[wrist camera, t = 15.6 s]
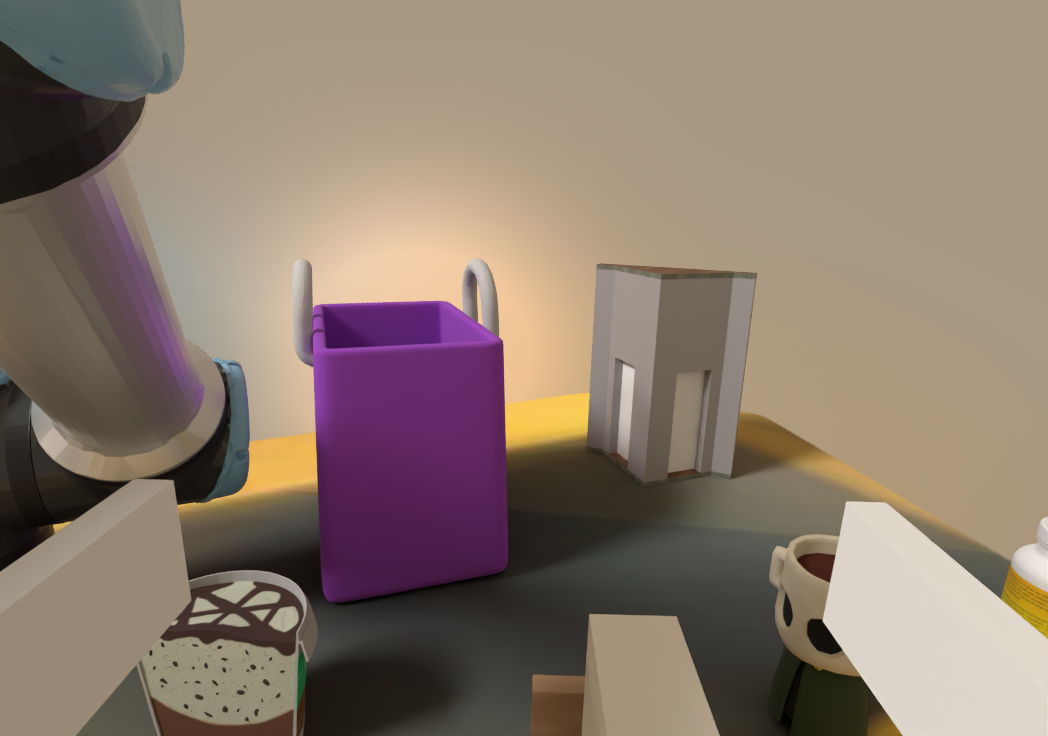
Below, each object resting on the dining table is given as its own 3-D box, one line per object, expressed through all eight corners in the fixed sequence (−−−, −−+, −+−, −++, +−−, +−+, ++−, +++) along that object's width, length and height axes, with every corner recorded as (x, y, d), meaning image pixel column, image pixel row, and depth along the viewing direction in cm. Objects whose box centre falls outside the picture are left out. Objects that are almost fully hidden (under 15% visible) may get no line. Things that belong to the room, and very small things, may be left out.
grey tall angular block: (731, 475, 81) (756, 273, 74) (721, 504, 73) (749, 279, 65) (590, 446, 90) (600, 263, 83) (566, 470, 81) (575, 268, 74)
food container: (353, 689, 43) (346, 572, 41) (317, 764, 38) (306, 633, 35) (198, 673, 45) (181, 559, 42) (139, 744, 39) (115, 615, 36)
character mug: (722, 681, 45) (742, 531, 42) (789, 655, 48) (813, 513, 44) (848, 810, 35) (888, 629, 32) (923, 767, 38) (966, 597, 35)
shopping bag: (280, 496, 72) (257, 251, 65) (443, 462, 83) (440, 248, 75) (336, 634, 49) (309, 277, 41) (551, 562, 60) (562, 268, 52)
